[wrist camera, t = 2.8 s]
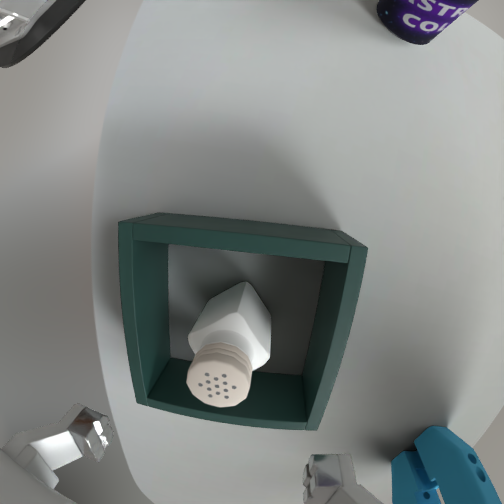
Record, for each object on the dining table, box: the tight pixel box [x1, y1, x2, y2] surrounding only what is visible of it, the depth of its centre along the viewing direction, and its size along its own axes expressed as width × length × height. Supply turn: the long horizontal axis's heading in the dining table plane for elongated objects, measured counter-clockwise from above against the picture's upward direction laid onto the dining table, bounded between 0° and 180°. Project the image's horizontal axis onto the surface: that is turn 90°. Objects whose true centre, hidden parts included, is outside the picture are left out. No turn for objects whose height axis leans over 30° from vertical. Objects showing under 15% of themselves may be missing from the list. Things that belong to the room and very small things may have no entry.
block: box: [391, 426, 502, 504], centre depth 15 cm, size 12×5×20 cm, turn 155°
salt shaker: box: [186, 282, 272, 407], centre depth 17 cm, size 4×4×10 cm
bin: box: [118, 213, 368, 430], centre depth 19 cm, size 14×14×6 cm
